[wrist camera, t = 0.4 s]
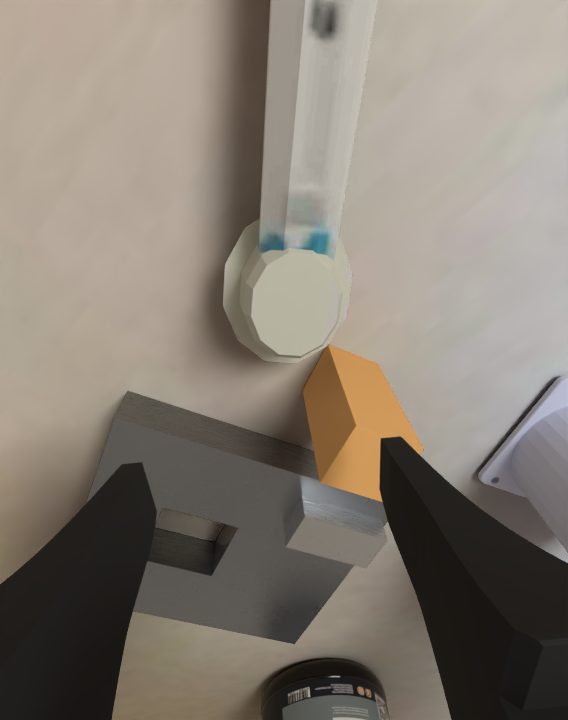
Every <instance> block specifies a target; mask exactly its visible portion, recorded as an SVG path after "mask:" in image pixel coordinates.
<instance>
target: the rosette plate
mask: <svg viewBox="0 0 568 720" xmlns="http://www.w3.org/2000/svg"><path fill="white" fill-rule="evenodd" d="M139 462H142V464H143V467H144V470H145V473H146V477H147V480H148V483H149V487H150V490H151V493H152V496H153V500H154V503H155V506H156V510H157V516H156V521H157V519H158V517H159V514H160V512H161V510H162V508H166V509H170V510H174V511H178V512H181V513H185V514H189V515H193V516H197V517H200V518H204V519H208V520H212V521H215V522H219V523H223V524H225V525H224V527H223V529H222V531H221V532H220V534H219V536H218V538H217V540H216V542H215V543H213V542H209V541H205V540H201V539H197V538H193V537H190V536H186V535H182V534H178V533H174V532H170V531H166V530H162V529H158V528H155V530H154V536H153V542H152V546H151V550H150V554H149V557H148V561H147V564H146V568H145V571H144V575H143V578H142V582H141V585H140V588H139V592H138V595H137V599H136V602H135V606H134V609H133V611H135V612H140V613H144V614H149V615H154V616H159V617H164V618H169V619H174V620H179V621H184V622H189V623H194V624H199V625H204V626H209V627H213V628H218V629H223V630H228V631H233V632H238V633H243V634H248V635H253V636H258V637H263V638H268V639H273V640H278V641H282V642H287V643H292V644H295V643H296V641H297V640H298V639H299V638H300V636H301V635H302V634H303V632H304V631H305V630H306V628H307V627H308V626H309V624H310V623H311V622H312V620H313V619H314V618H315V616H316V615H317V614H318V612H319V611H320V610H321V609H322V607H323V606H324V605H325V603H326V602H327V601H328V599H329V598H330V597H331V595H332V594H333V593H334V591H335V590H336V589H337V587H338V586H339V585H340V583H341V582H342V581H343V580H344V578H345V577H346V576H347V574H348V573H349V572H350V570H351V569H352V568H353V566H354V565H356V566H360V567H363V568H367V566H368V565H369V564H370V562H371V561H372V560H373V559H374V557H375V556H376V555H377V553H378V552H379V551H380V550H381V548H382V547H383V546H384V545H385V543H386V542H387V541H388V540H387V537H386V534H385V531H384V528H383V527H384V525H385V524H386V523H387V521H388V520H387V517H386V513H385V509H384V506H383V502H380V501H377V500H374V499H371V498H367V497H364V496H361V495H358V494H354V493H351V492H348V491H345V490H341V489H338V488H335V487H332V486H328V485H325V484H322V483H320V480H319V475H318V470H317V464H316V459H315V454H314V451H311V450H308V449H305V448H302V447H298V446H295V445H292V444H289V443H286V442H283V441H280V440H277V439H274V438H271V437H268V436H265V435H262V434H258V433H255V432H252V431H249V430H246V429H243V428H240V427H237V426H234V425H231V424H228V423H225V422H222V421H219V420H215V419H212V418H209V417H206V416H203V415H200V414H197V413H194V412H191V411H188V410H185V409H182V408H179V407H175V406H172V405H169V404H166V403H163V402H160V401H157V400H154V399H151V398H148V397H145V396H142V395H139V394H135V393H132V392H129V391H128V392H127V394H126V396H125V398H124V400H123V402H122V404H121V406H120V408H119V410H118V412H117V414H116V416H115V419H114V421H113V424H112V427H111V430H110V433H109V436H108V439H107V442H106V445H105V448H104V451H103V454H102V457H101V460H100V463H99V466H98V469H97V472H96V475H95V478H94V481H93V484H92V487H91V490H90V493H89V496H88V499H87V502H88V501H89V500H90V499H91V498H92V497H93V496H94V495H95V494H96V492H97V491H98V490H99V489H100V488H101V487H102V486H103V485H104V483H105V482H106V481H107V480H108V479H109V478H110V477H111V476H112V474H113V473H114V472H115V471H116V470H117V469H118V468H119V467H120V466H121V465H122V464H129V463H139ZM87 502H86V503H87Z"/></svg>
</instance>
